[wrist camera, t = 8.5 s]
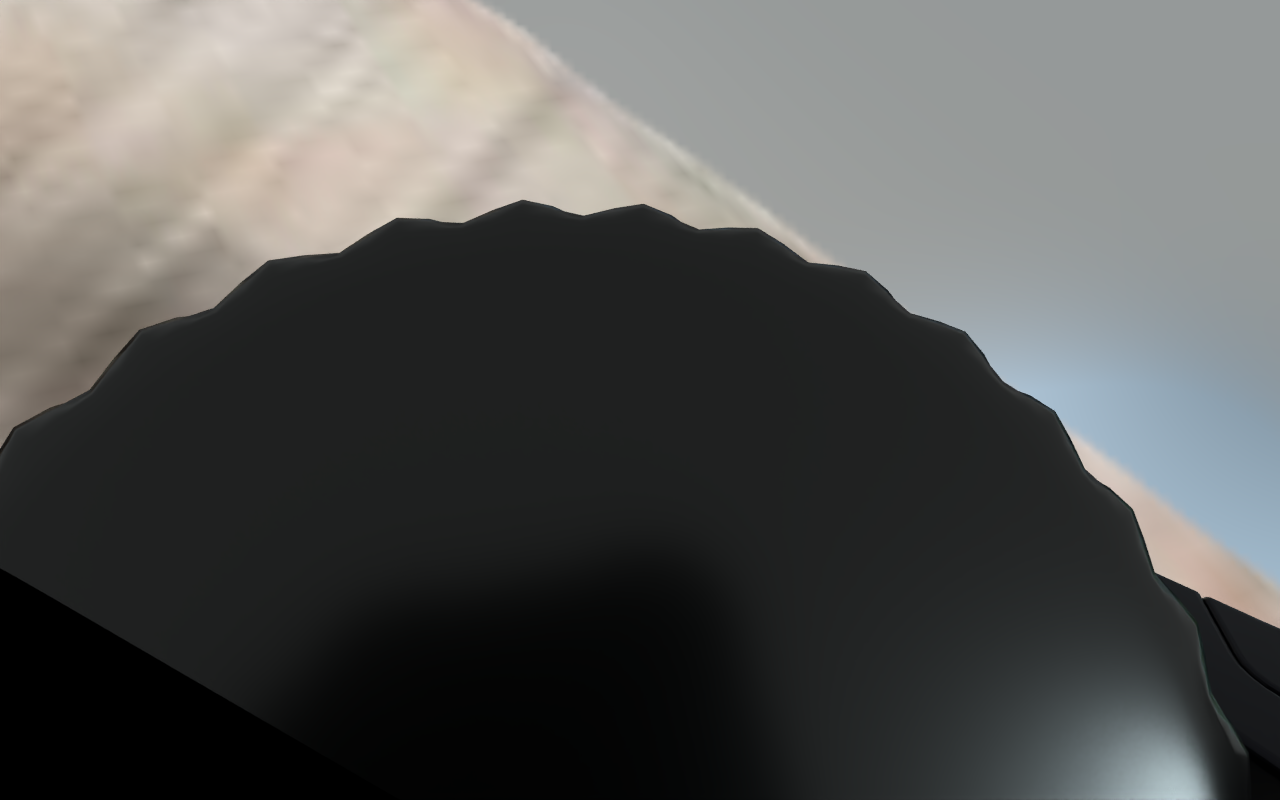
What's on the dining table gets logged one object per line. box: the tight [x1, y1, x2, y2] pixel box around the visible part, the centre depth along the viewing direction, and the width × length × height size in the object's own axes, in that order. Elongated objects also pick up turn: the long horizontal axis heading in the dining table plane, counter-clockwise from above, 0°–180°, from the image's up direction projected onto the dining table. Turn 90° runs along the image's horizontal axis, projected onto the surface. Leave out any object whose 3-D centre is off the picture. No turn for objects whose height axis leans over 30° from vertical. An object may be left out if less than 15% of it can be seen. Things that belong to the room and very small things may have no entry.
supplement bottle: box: [0, 200, 1252, 800], centre depth 8 cm, size 7×7×12 cm
